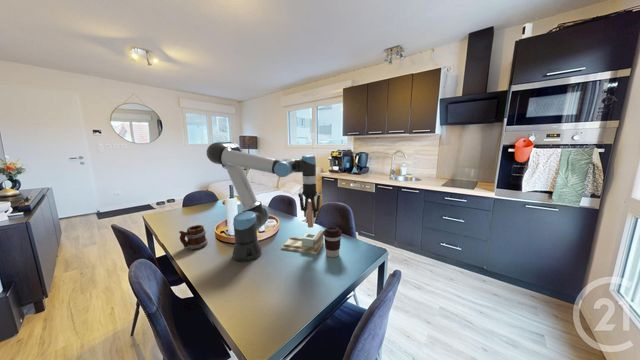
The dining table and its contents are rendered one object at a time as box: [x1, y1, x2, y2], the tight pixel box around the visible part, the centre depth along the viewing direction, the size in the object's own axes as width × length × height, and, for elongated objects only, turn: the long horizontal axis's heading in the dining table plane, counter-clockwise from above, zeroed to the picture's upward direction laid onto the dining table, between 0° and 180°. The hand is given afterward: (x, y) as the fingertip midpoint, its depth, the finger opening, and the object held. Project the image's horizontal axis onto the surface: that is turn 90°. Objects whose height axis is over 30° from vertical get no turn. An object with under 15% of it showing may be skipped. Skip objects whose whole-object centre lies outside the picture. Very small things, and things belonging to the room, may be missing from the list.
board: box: [280, 229, 325, 255], centre depth 130 cm, size 22×14×8 cm, turn 73°
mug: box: [178, 224, 209, 251], centre depth 130 cm, size 12×14×15 cm
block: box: [301, 232, 318, 248], centre depth 128 cm, size 8×8×6 cm
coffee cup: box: [323, 226, 343, 258], centre depth 119 cm, size 10×10×15 cm
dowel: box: [307, 200, 314, 228], centre depth 126 cm, size 3×3×15 cm
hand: (310, 222), depth 126 cm, fingers closed on dowel, 3 cm apart
